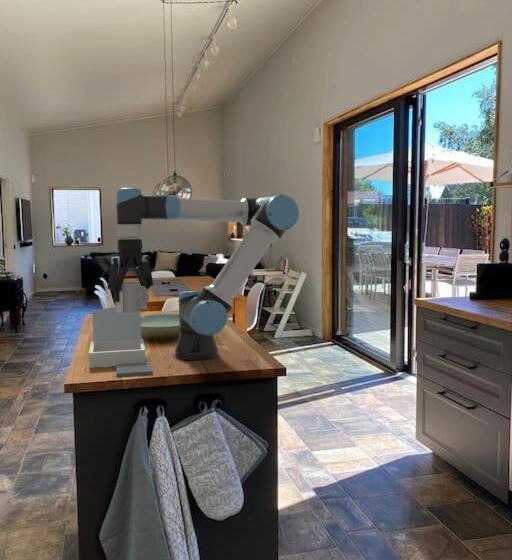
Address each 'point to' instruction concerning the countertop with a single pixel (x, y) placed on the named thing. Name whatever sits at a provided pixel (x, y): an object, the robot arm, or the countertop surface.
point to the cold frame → (116, 339)
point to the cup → (133, 296)
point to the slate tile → (133, 369)
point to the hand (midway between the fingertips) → (131, 310)
